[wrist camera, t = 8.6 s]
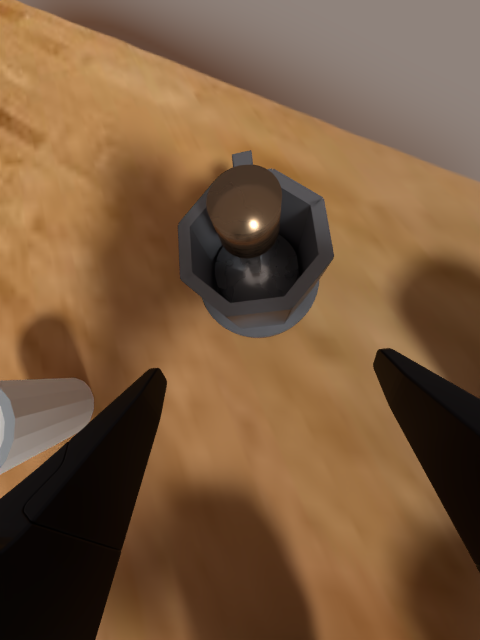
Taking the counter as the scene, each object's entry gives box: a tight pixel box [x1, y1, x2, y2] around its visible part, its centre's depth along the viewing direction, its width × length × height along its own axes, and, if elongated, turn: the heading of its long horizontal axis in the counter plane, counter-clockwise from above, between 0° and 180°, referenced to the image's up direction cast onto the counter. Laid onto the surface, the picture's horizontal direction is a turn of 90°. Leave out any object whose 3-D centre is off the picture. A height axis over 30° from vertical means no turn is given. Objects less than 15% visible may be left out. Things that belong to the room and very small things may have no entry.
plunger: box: [206, 165, 298, 303], centre depth 13 cm, size 7×7×8 cm
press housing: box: [178, 150, 334, 338], centre depth 16 cm, size 13×11×8 cm
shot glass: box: [0, 378, 94, 474], centre depth 17 cm, size 7×7×7 cm
